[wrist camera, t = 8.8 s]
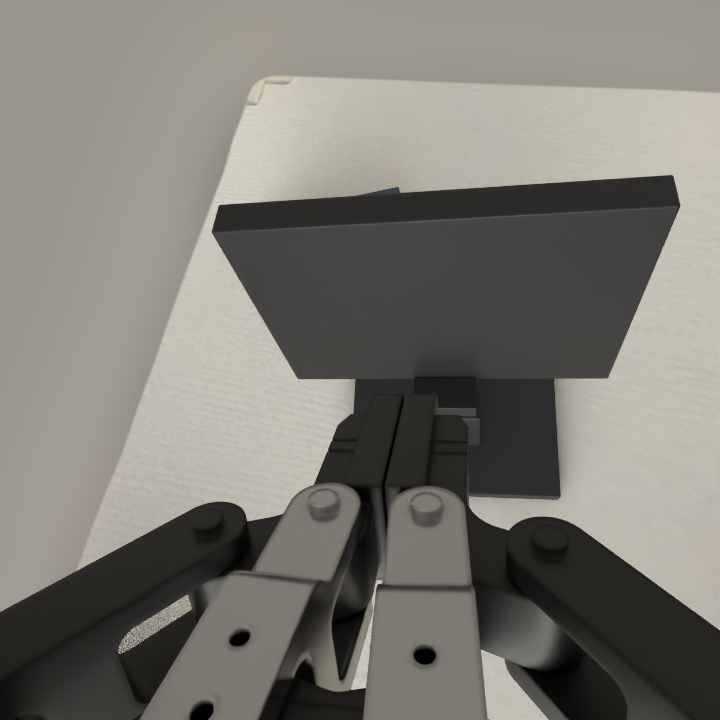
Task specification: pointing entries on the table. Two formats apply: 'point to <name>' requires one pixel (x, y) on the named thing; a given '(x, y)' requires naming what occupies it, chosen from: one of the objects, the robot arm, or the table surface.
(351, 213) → the monitor screen
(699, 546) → the table surface
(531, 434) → the monitor stand
